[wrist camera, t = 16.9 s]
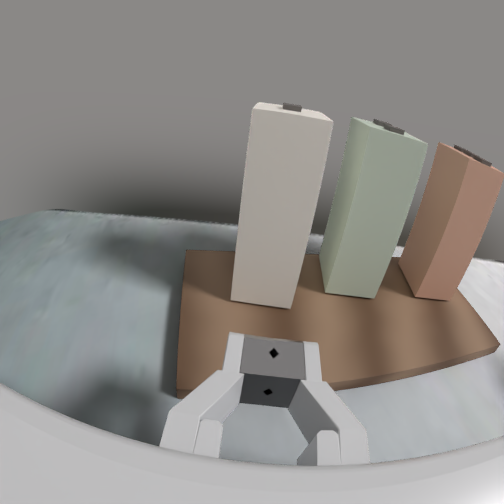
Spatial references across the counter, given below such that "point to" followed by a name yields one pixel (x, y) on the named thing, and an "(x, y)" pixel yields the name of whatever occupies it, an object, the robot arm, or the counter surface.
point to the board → (327, 325)
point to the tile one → (278, 201)
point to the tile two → (369, 206)
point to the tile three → (449, 222)
